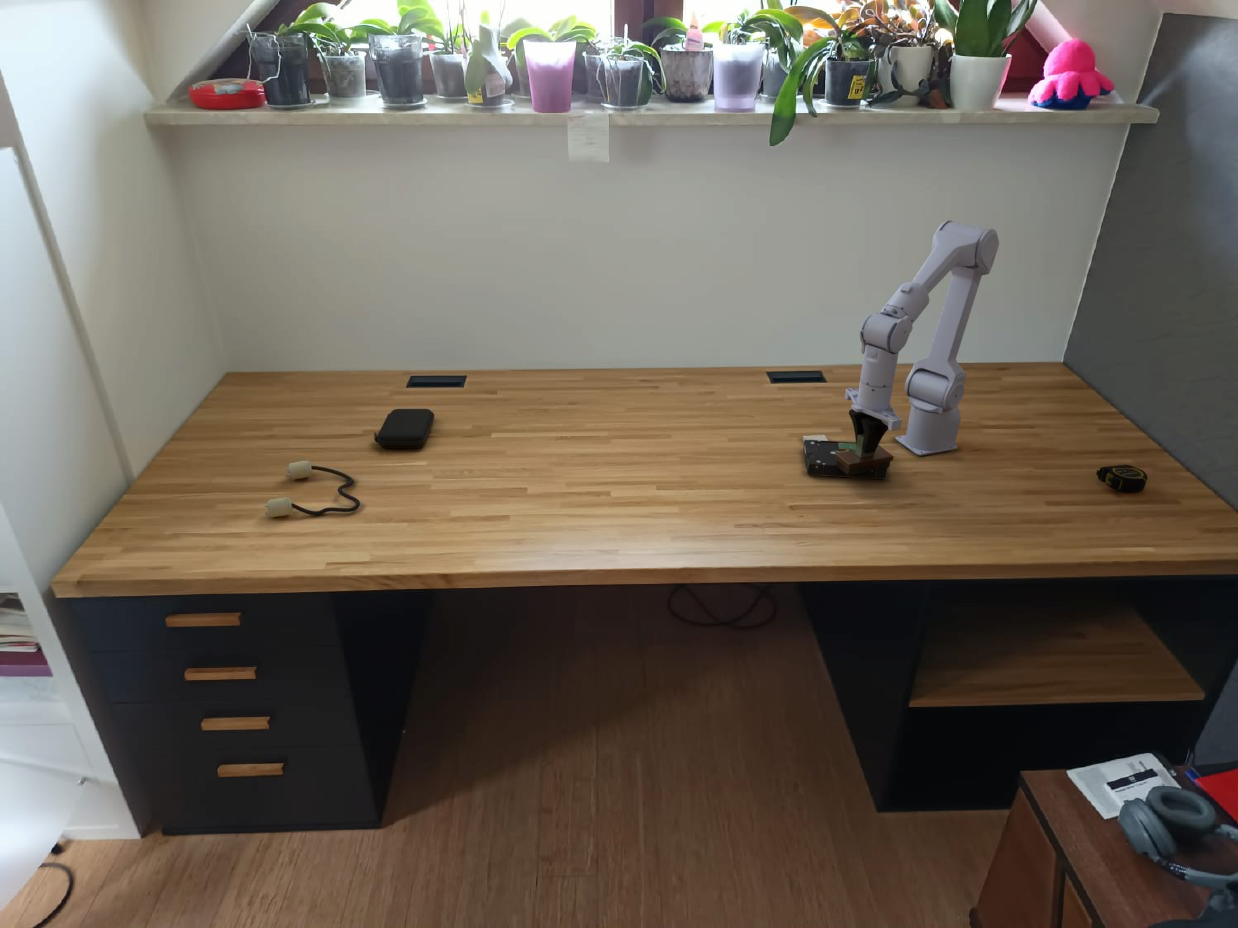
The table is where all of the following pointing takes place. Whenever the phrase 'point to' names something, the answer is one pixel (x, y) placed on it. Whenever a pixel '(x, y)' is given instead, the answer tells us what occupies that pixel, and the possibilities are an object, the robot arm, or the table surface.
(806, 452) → the disk drive
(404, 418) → the carrying case
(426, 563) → the table surface
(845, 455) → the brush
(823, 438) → the eraser
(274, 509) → the cable
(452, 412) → the table surface
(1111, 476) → the tape measure
